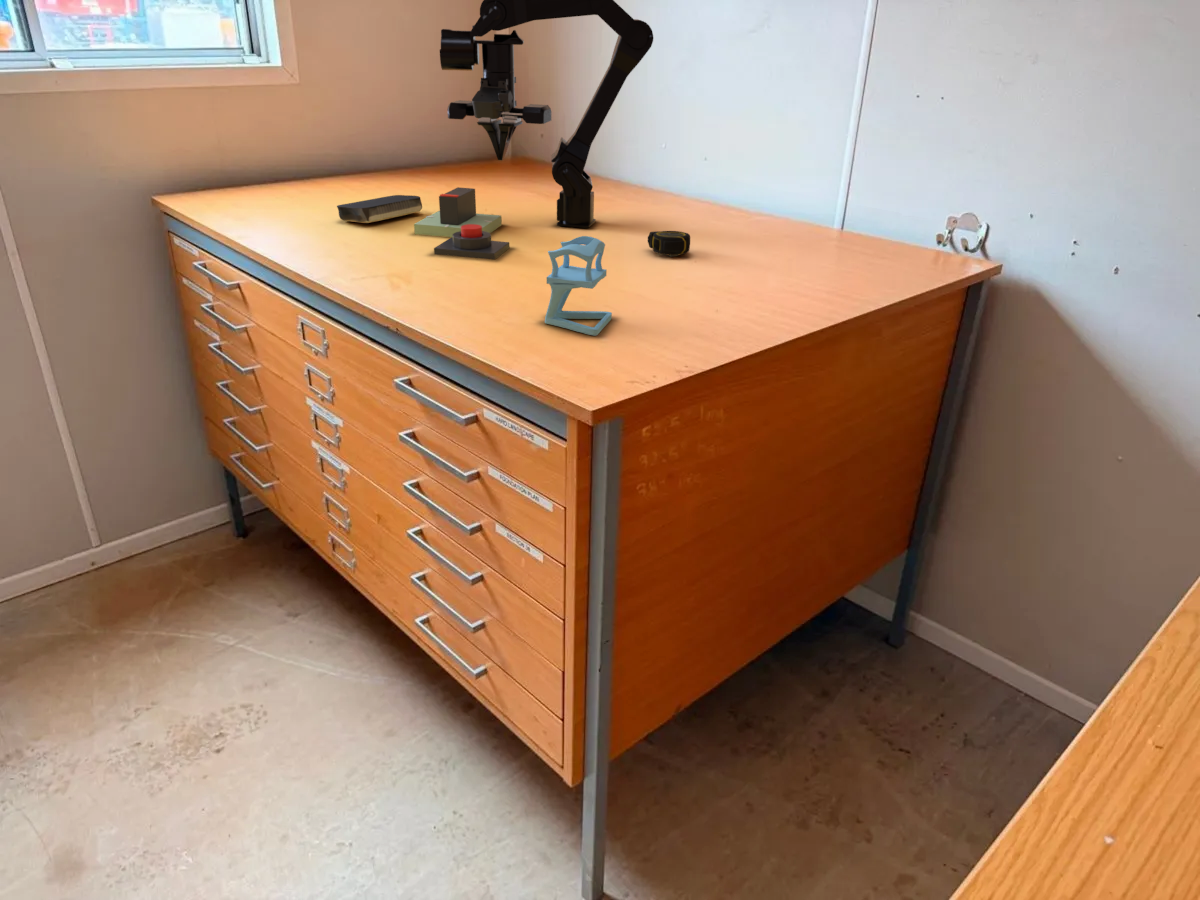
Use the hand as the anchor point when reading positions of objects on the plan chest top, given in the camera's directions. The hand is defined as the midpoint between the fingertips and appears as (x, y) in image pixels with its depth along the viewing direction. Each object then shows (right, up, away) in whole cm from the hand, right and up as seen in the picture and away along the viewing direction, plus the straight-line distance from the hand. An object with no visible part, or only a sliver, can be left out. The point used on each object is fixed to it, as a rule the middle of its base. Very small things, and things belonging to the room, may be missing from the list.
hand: (500, 160), depth 167 cm
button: (-3, -18, -15) cm, 24 cm away
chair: (+16, -38, -46) cm, 62 cm away
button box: (-3, -21, -14) cm, 25 cm away
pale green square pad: (-8, -13, 0) cm, 16 cm away
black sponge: (-25, -10, +7) cm, 27 cm away
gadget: (-8, -12, -1) cm, 14 cm away
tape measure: (+31, -21, -12) cm, 39 cm away
